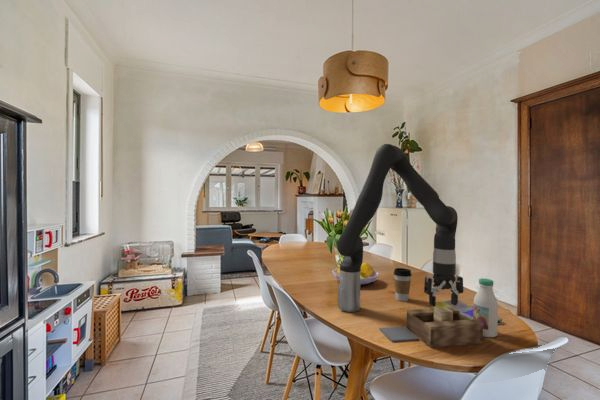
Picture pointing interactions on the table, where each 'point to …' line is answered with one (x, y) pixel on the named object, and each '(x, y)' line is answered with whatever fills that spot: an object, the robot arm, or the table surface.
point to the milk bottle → (486, 308)
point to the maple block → (442, 314)
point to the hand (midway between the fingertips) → (443, 305)
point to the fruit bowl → (366, 274)
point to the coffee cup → (402, 283)
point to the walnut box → (444, 328)
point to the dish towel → (461, 309)
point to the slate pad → (398, 334)
